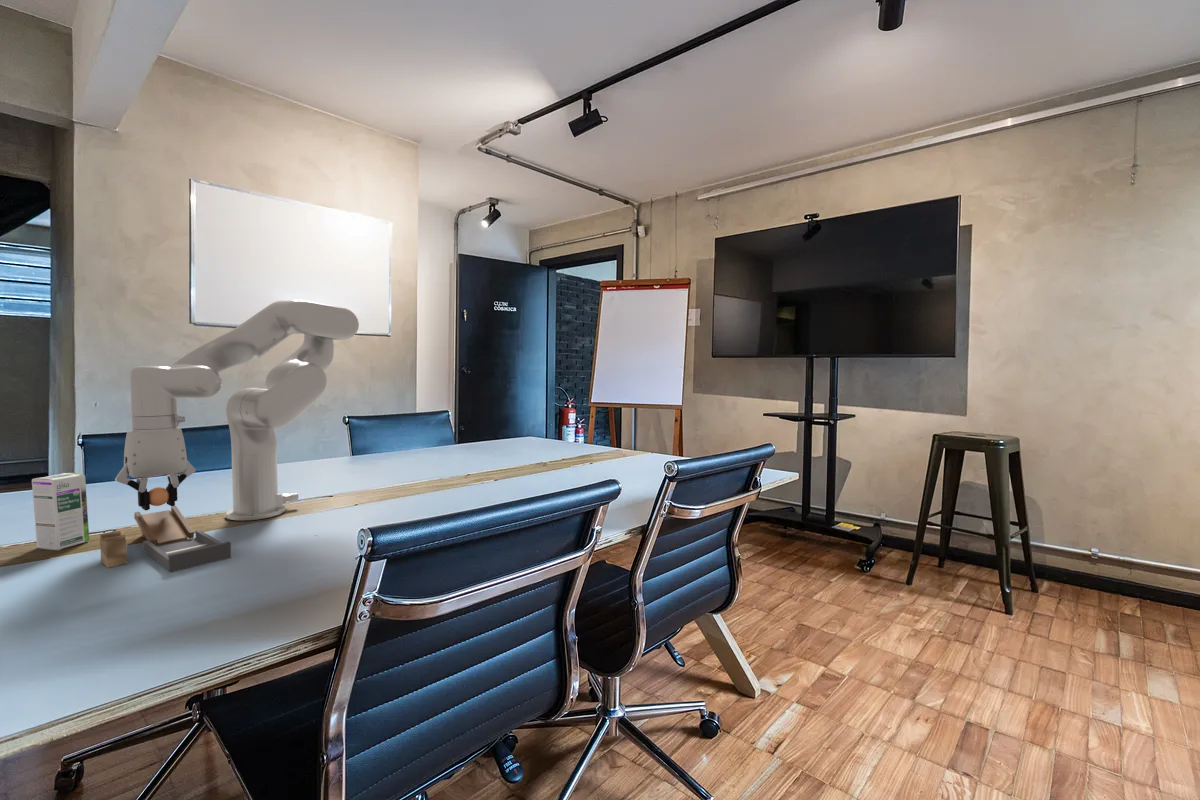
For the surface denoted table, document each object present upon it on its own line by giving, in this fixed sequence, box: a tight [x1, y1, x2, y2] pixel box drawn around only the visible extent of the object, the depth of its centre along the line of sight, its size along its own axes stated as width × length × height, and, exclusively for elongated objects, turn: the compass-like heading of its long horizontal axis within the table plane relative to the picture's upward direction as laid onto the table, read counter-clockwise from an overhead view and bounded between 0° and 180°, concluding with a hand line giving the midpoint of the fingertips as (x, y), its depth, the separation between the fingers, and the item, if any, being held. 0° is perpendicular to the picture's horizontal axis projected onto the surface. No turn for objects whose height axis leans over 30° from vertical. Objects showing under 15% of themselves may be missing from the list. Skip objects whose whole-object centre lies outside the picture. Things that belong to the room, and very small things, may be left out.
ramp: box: [133, 505, 195, 546], centre depth 116 cm, size 7×12×6 cm, turn 53°
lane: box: [142, 529, 232, 573], centre depth 107 cm, size 10×17×3 cm, turn 53°
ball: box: [148, 486, 170, 507], centre depth 117 cm, size 4×4×4 cm
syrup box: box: [31, 472, 90, 551], centre depth 111 cm, size 6×6×14 cm
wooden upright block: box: [99, 531, 128, 569], centre depth 102 cm, size 3×5×5 cm, turn 53°
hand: (158, 506), depth 118 cm, fingers closed on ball, 3 cm apart
